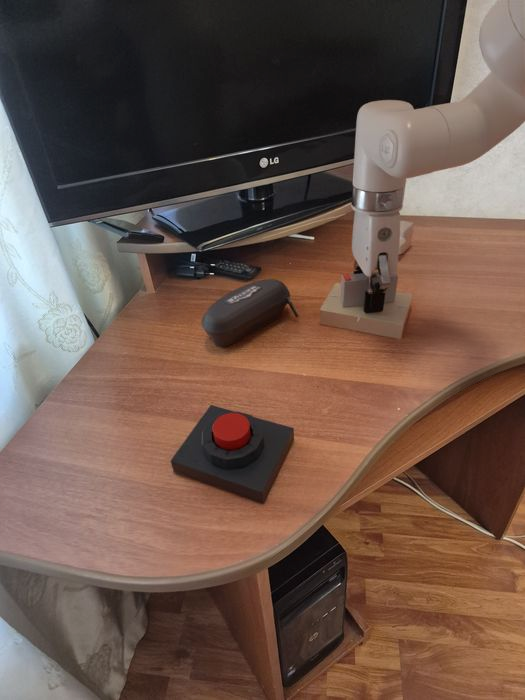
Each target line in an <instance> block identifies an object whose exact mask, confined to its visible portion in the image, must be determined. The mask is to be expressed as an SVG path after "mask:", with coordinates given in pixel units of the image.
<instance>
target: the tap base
mask: <svg viewBox="0 0 525 700" xmlns="http://www.w3.org/2000/svg"><path fill="white" fill-rule="evenodd" d="M340 293H341V282H335V283H334V285H333V286H332V288H331V290H330V292H329V293H328V295H327V296H326V298H325V299H324V302H323V303H322V305H321V306H320V308H319V315H318V316H319V319H318V320H319V321H318V324H319V325H323V326H329V327H331V328H332V327H333V328H339V329H344V330H349V331H354V332H359V333H365V334H370V335H375V336H380V337H381V336H382V337H385V338H386V337H387V338H391V339H395V340H396V339H397V340H402V338H403V334H404V331H405V328H406V325H407V322H408V318H409V315H410V312H411V309H412V304H413V298H414V297H413V296H414V293H408V292H401V291H396V295H395V302H389V303H384V308H383V311H382V312H374V313H365V312H364V305H360V306H351V307H343V306H342V304H341V302H340Z"/></svg>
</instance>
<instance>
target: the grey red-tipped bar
mask: <svg viewBox="0 0 525 700" xmlns="http://www.w3.org/2000/svg"><path fill="white" fill-rule="evenodd" d="M372 273H378V271H373V272H372ZM389 276H390V285H389V286H388V287H387V291H386V293H385V300H384V303H389V302H395V295H396V292H397V288H398V287H397V285H398V280H399V275H398V274H397V273H396V274H395V275H390V273H389ZM378 281H379V277H376V278H373V285H374V284H375V283H376V282H378ZM340 283H341V293H340V302H341V304H342V306H343V307H351V306H360V305H364V299H365V291H368V287H367V276H366V275H365V274H364V273H361V274H354V273H353V274H349V273H343V274H342V275H341V277H340Z"/></svg>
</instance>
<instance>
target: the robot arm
mask: <svg viewBox="0 0 525 700" xmlns="http://www.w3.org/2000/svg"><path fill="white" fill-rule="evenodd" d="M478 35H479V36H478V40H479V41H478V43H479V49H480V53H481V56H482V59H483V60H484V62H485V64H486V66H487V68H488V70H489V71H490V72H489V73H488V74H487V75H486V77H484V79H482V80H481V81H480V82H479V84H477V85H476V86H475V87H474V88H473V89H472V90H471V91H470V92H469V93H468V94H467V95H466V96H465V97H464V98H462V99H461V100H459V101H454V102H448V103H441V104H436V105H430V106H424V107H422V108H415V109H414V106H413V105H412V104H411V103H409V102H407V101H405V100H397V99H382V100H374V101H370V102H368V103H365V104H363V105H362V106H360V108H359V110H358V112H357V116H356V123H355V125H356V126H355V140H354V152H353V153H354V155H353V172H352V174H353V175H352V185H351V201H350V208H351V210H353V211H354V217H353V223H352V224H353V227H352V235H351V236H352V237H351V253H352V256H353V258H354V263H353V269H354V270H353V274H361V273H364V274H365V275H366V276H367V287H368V291H365V299H364V312H365V313H374V312H382V311H383V308H384V300H385V293H386V291H387V287H388V286H389V285H390V276H389V273H390V275H395V274H397V272H398V264H399V256H400V254H399V243H400V220H401V213H400V212H401V211H402V210H403V208H404V198H405V192H406V183H407V179H411V178H416V177H420V176H425V175H429V174H432V173H435V172H439V171H444V170H448V169H453V168H457V167H458V168H459V167H461V166H464V165H465V166H466V165H467V164H470V163H472V162H474V161H476V160H477V159H480V158H481V157H482V156H484V155H485V154H487V153H488V152H490V151H491V150H493V148H495V147H496V146H498V144H500V143H501V142H502V141H504V140H505V139H506V138H508V137H509V136H511V134H513V133H514V132H515V131H516V130H518V128H520V127H521V126H522V125H523V124H524V123H525V0H497V1H495V3H493V5H492V6H491V7H490V9H489V10H488V11H487V13H486V14H485V16H484V18H483V20H482V22H481V24H480V28H479V34H478ZM375 270H377V272H378V273H372V272H375ZM376 277H379V281H378V282H376V283H375V284H374V285H373V278H376Z"/></svg>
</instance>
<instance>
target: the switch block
mask: <svg viewBox="0 0 525 700" xmlns="http://www.w3.org/2000/svg"><path fill="white" fill-rule="evenodd" d="M228 413H238V414H241V415H243V416H245V417H246V418H247V419H248V421H249V424H250V432H251V437H250V440H249V442H248V443H247V444H246V445H245V446H244V447H242V448H240V449H237V450H224V449H222V448H220V447H219V446H218V445H217V444H216V443H215V440H214V435H213V424H214V422H215V421H216V420H217V419H218V418H219V417H220V416H222V415H225V414H228ZM294 441H295V428H294V427H291V426H287V425H285V424H280V423H277V422H274V421H269V420H267V419H263V418H259V417H256V416H254V415H252V414H248V413H245V412H241V411H234V410H231V409H227V408H223V407H220V406H217V405H213V404H210V405H209V407H208V408H207V409H206V411H205V412H204V414H202V416H201V418H199V420H198V422H197V423H196V425H195V426H193V429H192V430H191V431H190V433H189V434H188V436H187V437H186V438H185V440H183V443H182V444H181V445H180V447H179V448H178V449H177V451H176V452H175V453H174V455H173V456H172V458H171V459H170V464H171V467H172V471H173V473H175V474H179V475H181V476H184V477H187V478H189V479H192V480H195V481H198V482H201V483H203V484H206V485H210V486H212V487H215V488H218V489H221V490H223V491H227V492H230V493H232V494H235V495H238V496H241V497H244V498H246V499H248V500H252V501H254V502H258V503H260V504H264V503H265V501H266V499H267V497H268V495H269V493H270V491H271V488H272V486H273V484H274V482H275V480H276V478H277V476H278V474H279V473H280V470H281V468H282V467H283V464H284V461H285V459H286V457H287V455H288V454H289V451H290V449H291V447H292V445H293V443H294Z"/></svg>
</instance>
